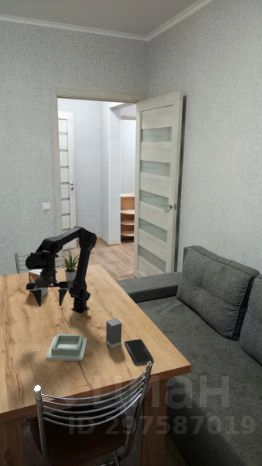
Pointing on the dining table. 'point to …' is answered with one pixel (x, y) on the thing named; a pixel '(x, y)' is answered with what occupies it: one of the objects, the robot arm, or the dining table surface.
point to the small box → (34, 275)
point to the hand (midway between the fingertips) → (50, 306)
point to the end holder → (67, 347)
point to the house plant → (70, 268)
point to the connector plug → (113, 332)
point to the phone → (138, 351)
